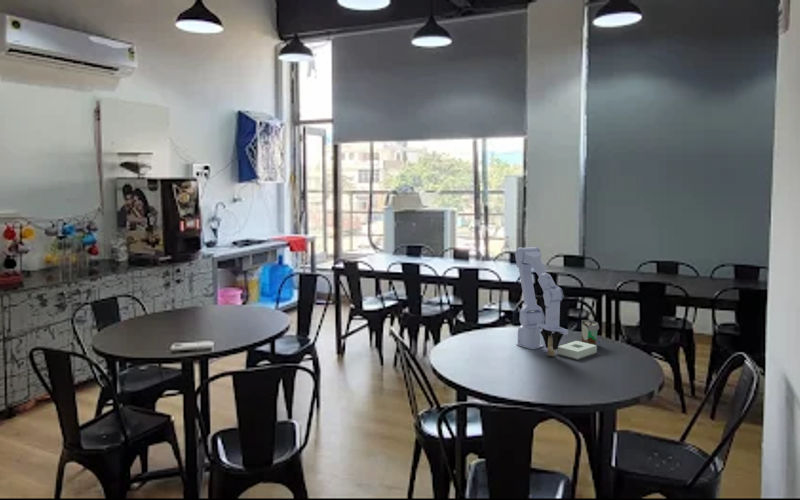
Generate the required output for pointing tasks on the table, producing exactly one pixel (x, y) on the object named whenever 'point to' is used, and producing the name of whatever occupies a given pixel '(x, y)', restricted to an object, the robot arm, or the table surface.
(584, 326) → the food container
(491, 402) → the table surface
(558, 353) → the socket block
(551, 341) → the peg
